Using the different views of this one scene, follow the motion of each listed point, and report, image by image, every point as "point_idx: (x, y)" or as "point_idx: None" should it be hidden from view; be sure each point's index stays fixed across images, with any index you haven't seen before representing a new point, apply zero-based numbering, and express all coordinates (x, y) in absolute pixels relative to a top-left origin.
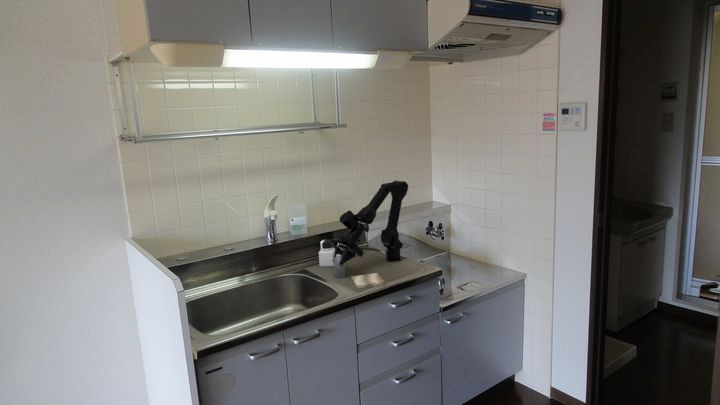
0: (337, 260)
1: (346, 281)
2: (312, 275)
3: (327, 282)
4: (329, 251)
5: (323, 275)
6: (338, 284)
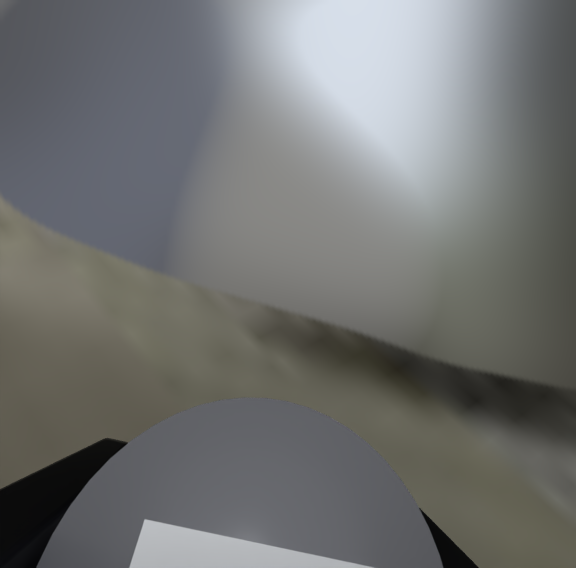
0: (178, 422)
1: (15, 455)
2: (538, 391)
3: (234, 311)
4: None
5: (451, 463)
6: (74, 321)
